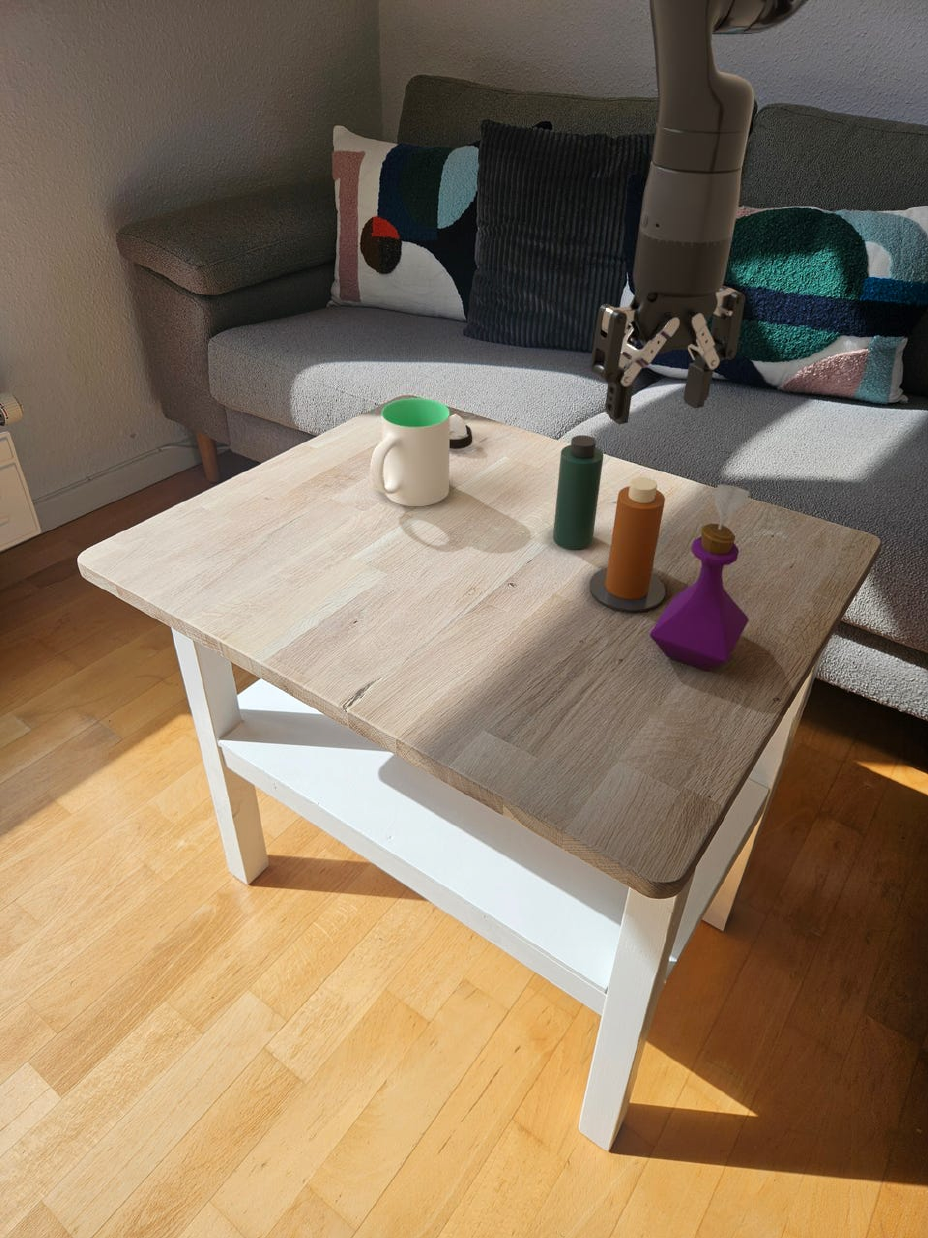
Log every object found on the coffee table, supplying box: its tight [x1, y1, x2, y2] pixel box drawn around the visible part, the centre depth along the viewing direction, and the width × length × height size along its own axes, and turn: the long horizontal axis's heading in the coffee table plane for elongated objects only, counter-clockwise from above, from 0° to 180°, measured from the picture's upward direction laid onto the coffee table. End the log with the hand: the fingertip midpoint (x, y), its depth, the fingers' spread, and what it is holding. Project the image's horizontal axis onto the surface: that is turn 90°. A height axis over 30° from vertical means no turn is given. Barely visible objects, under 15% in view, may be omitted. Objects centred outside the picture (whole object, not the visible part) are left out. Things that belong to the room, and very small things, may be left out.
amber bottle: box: [605, 476, 666, 599], centre depth 89 cm, size 5×5×12 cm
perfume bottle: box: [649, 484, 751, 672], centre depth 79 cm, size 8×8×18 cm
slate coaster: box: [588, 566, 666, 613], centre depth 93 cm, size 8×8×1 cm
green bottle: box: [552, 434, 604, 551], centre depth 97 cm, size 5×5×12 cm
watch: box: [449, 413, 473, 450], centre depth 119 cm, size 8×5×4 cm, turn 43°
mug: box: [369, 397, 451, 507], centre depth 104 cm, size 12×8×10 cm
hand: (656, 412), depth 80 cm, fingers open, 8 cm apart
